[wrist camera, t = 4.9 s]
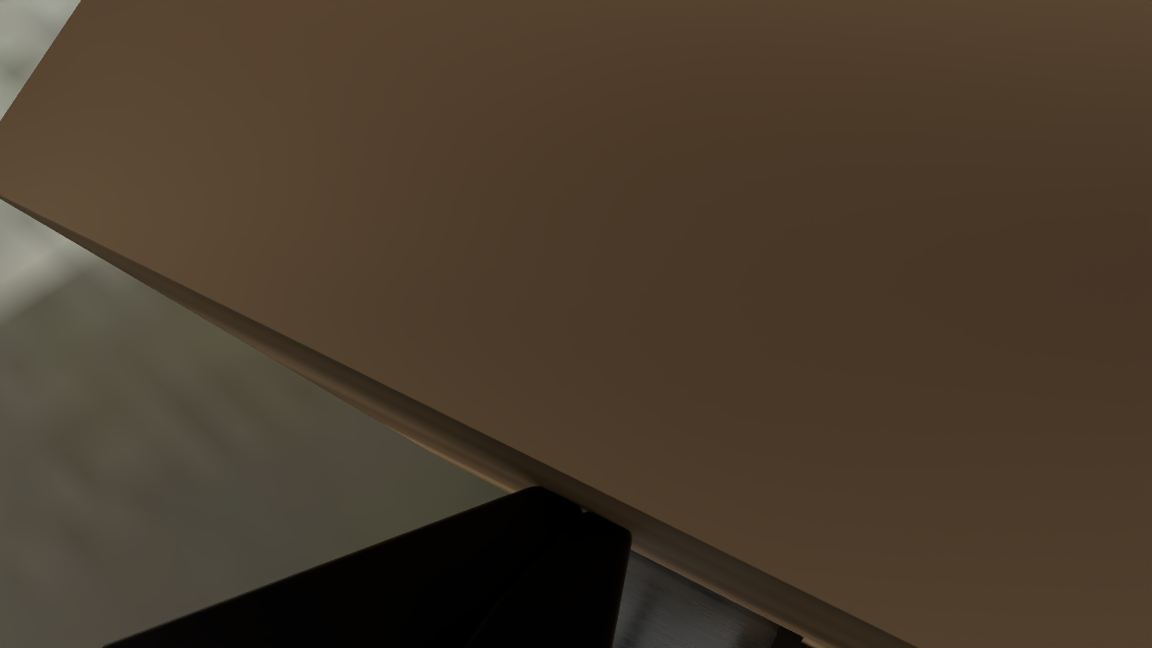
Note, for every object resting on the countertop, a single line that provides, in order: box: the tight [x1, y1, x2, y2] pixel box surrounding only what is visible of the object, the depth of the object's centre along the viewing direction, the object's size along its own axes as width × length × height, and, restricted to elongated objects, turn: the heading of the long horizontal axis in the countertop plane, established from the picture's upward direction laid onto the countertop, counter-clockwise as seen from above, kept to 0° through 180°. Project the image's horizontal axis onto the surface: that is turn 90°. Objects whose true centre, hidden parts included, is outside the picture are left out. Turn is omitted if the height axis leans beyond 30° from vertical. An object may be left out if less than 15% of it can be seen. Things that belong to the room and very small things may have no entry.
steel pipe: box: [612, 550, 781, 648], centre depth 13 cm, size 16×3×3 cm, turn 153°
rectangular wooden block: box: [0, 0, 1152, 648], centre depth 10 cm, size 4×8×10 cm, turn 63°
